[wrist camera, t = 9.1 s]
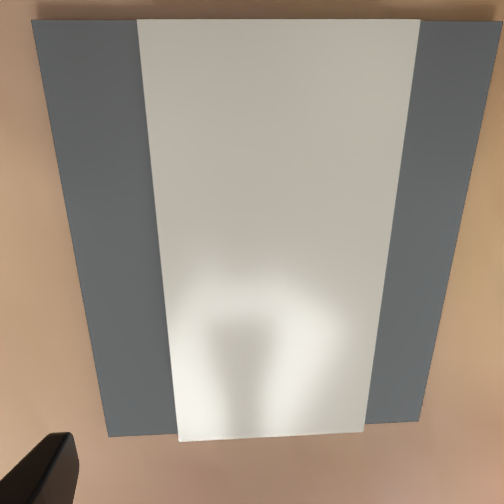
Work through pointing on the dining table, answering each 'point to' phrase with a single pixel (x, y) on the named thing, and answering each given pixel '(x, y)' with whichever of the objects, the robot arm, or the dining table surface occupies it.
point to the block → (274, 213)
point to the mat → (145, 222)
